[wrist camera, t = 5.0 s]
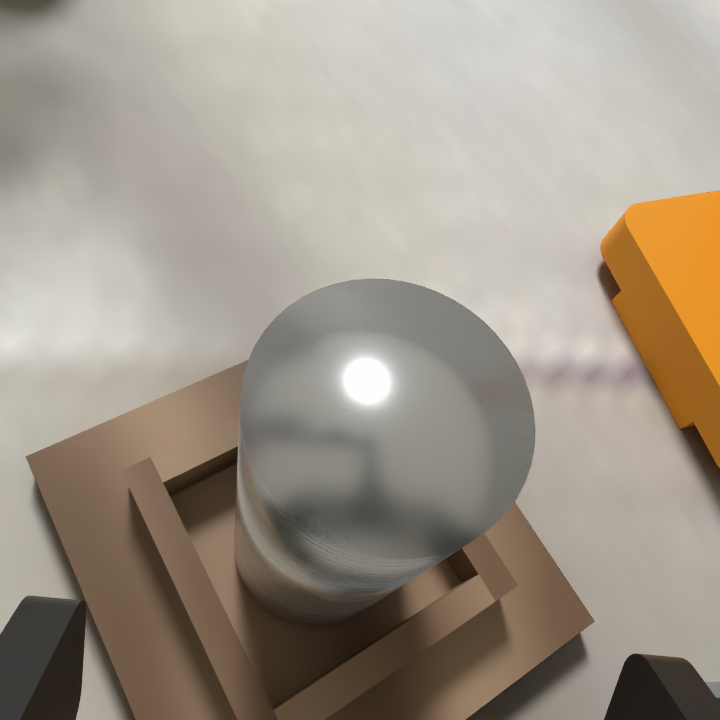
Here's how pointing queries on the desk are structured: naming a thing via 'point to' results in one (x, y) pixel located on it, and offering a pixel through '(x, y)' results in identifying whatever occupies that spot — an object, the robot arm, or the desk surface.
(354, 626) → the stop seat
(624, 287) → the bracket
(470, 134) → the desk surface
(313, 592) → the pin
